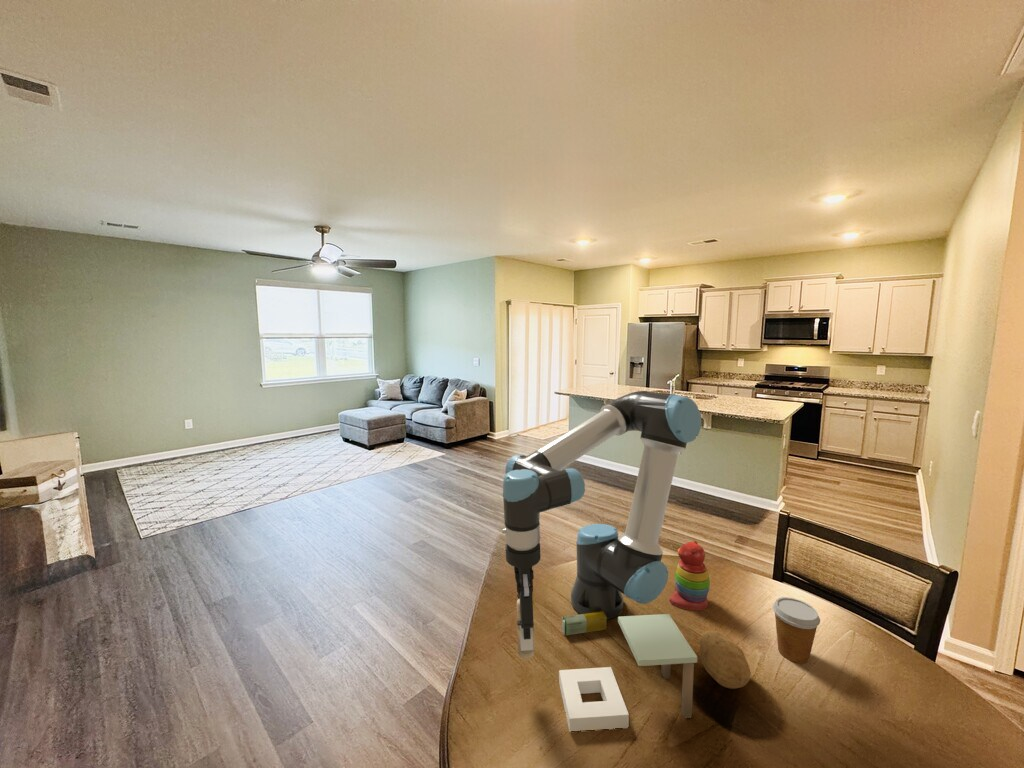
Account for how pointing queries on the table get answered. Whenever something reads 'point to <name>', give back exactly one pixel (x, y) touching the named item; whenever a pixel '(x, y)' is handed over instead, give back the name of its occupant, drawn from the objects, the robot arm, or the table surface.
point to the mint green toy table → (661, 649)
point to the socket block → (592, 713)
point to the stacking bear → (691, 578)
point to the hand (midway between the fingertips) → (526, 641)
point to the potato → (724, 660)
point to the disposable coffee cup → (795, 628)
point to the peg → (522, 654)
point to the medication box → (583, 623)
